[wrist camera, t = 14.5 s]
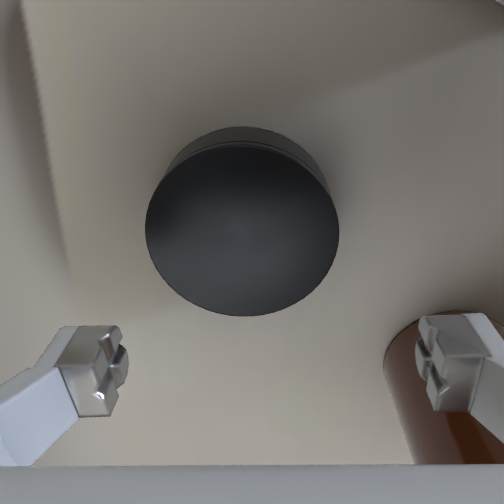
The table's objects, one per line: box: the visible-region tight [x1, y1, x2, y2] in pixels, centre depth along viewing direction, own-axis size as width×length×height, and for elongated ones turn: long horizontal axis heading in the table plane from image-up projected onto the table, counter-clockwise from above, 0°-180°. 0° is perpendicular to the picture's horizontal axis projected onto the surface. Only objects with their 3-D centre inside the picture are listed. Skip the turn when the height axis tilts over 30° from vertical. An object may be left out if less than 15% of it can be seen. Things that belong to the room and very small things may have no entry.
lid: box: [145, 127, 339, 316], centre depth 15 cm, size 7×7×2 cm
